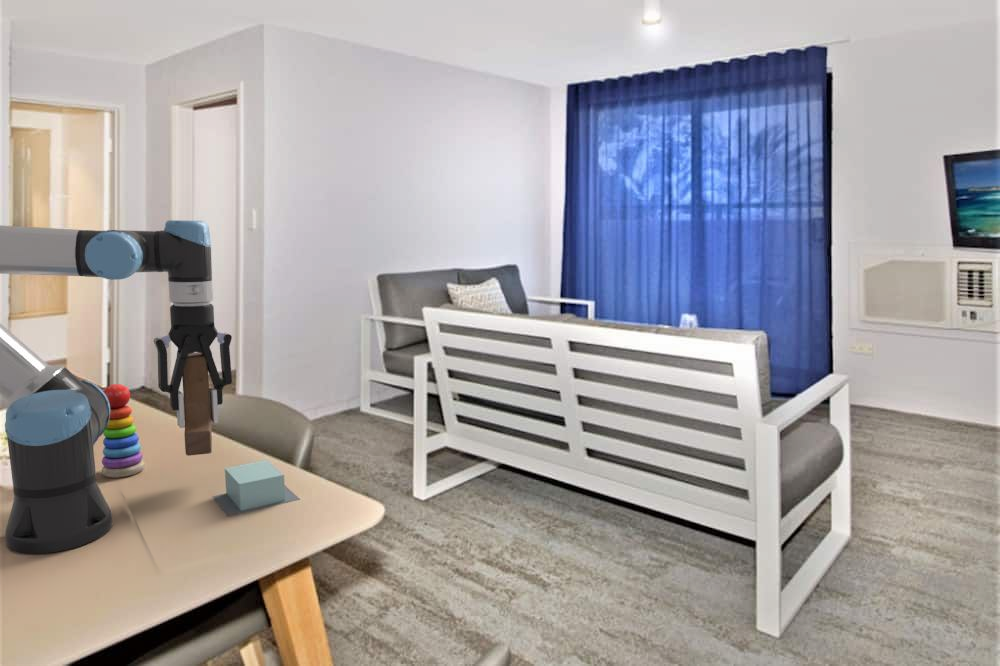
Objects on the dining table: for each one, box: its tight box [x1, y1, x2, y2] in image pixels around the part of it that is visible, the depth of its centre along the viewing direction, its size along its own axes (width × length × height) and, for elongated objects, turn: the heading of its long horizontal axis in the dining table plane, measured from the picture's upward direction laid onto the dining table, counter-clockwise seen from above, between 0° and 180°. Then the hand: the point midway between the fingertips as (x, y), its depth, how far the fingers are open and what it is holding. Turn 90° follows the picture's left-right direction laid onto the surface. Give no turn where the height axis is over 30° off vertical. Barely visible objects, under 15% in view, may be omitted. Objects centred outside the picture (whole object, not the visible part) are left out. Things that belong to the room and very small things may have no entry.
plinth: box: [224, 459, 286, 511], centre depth 133 cm, size 8×10×5 cm
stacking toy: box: [101, 383, 146, 478], centre depth 146 cm, size 8×8×19 cm
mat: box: [212, 485, 301, 517], centre depth 133 cm, size 13×11×1 cm
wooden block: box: [181, 352, 213, 457], centre depth 135 cm, size 9×4×18 cm, turn 22°
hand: (198, 423), depth 136 cm, fingers closed on wooden block, 5 cm apart
